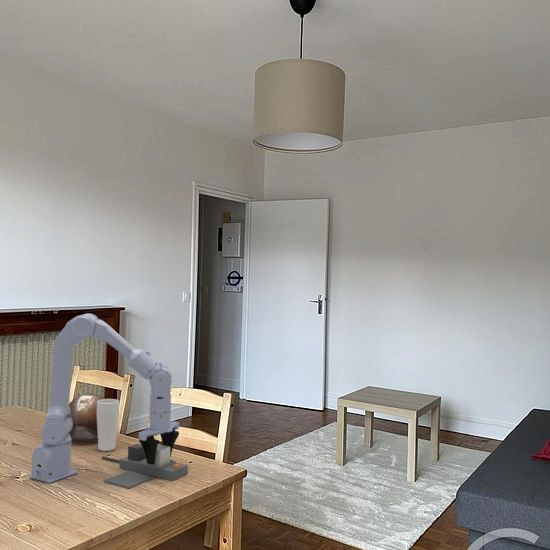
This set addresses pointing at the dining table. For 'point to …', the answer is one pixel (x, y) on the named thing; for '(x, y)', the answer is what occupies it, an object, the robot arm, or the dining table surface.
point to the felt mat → (128, 479)
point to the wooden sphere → (84, 416)
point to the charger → (162, 455)
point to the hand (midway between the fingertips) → (158, 460)
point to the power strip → (139, 464)
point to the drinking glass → (107, 423)
